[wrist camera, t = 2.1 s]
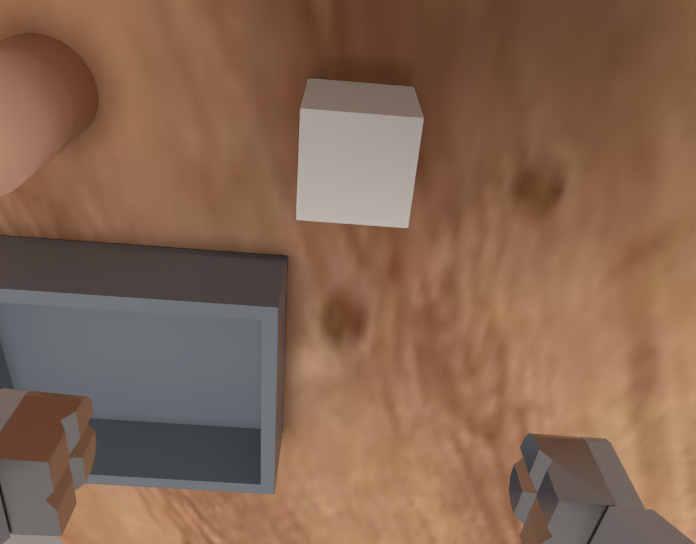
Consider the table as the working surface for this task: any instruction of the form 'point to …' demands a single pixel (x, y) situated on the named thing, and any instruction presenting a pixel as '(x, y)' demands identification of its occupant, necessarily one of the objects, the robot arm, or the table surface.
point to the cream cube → (357, 153)
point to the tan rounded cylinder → (40, 104)
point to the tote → (154, 355)
